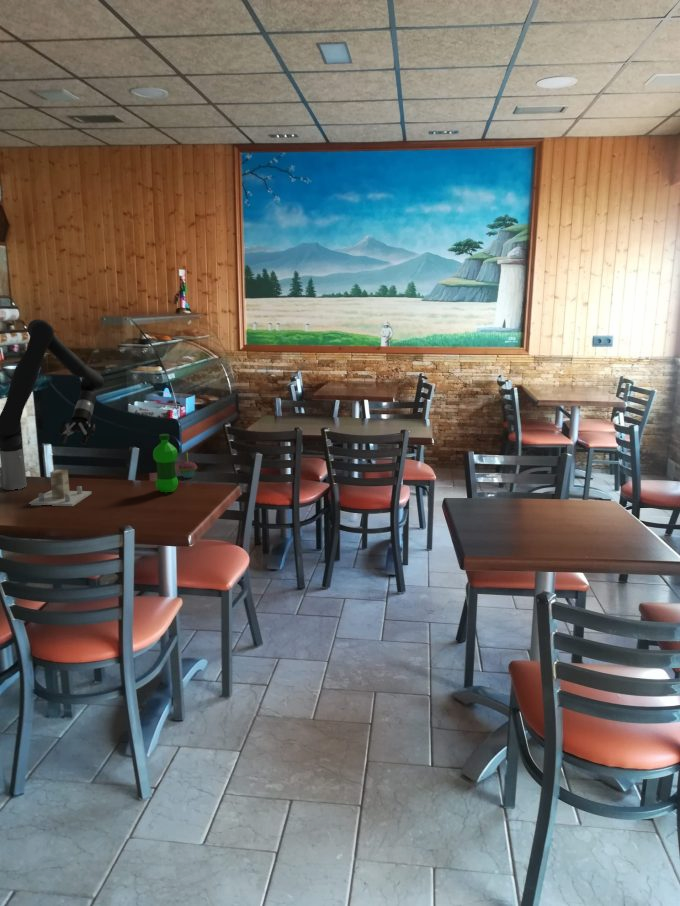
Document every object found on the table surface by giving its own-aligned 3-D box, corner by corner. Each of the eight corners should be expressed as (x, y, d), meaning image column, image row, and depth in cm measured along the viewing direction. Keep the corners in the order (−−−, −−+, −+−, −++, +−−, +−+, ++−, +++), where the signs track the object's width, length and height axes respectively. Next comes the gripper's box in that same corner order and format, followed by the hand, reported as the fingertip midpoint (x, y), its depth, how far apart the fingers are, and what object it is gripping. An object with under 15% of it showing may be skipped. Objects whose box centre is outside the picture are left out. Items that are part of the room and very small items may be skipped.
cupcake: (178, 475, 321) (177, 450, 318) (196, 473, 324) (195, 449, 321) (179, 479, 313) (178, 454, 310) (198, 478, 316) (197, 453, 313)
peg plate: (29, 505, 274) (28, 495, 273) (50, 492, 292) (49, 483, 291) (72, 506, 273) (71, 496, 272) (91, 493, 290) (90, 484, 289)
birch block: (52, 498, 280) (50, 472, 277) (58, 495, 285) (55, 469, 282) (64, 498, 279) (62, 472, 277) (69, 495, 284) (67, 469, 282)
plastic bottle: (159, 487, 299) (156, 432, 294) (182, 488, 298) (180, 432, 293) (151, 494, 290) (147, 436, 284) (175, 495, 289) (172, 437, 283)
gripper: (64, 407, 296) (53, 438, 288) (95, 407, 295) (86, 439, 287) (70, 416, 303) (60, 447, 294) (101, 417, 302) (92, 448, 293)
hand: (73, 443), depth 291 cm, fingers open, 8 cm apart
